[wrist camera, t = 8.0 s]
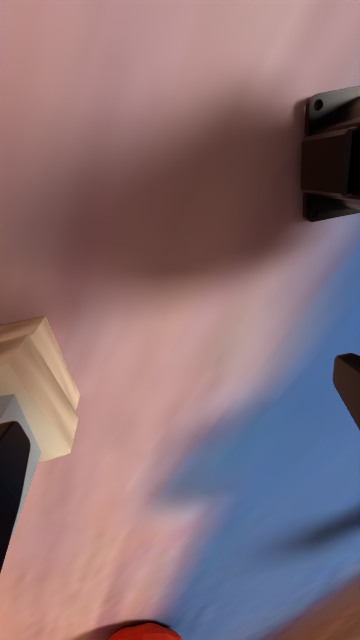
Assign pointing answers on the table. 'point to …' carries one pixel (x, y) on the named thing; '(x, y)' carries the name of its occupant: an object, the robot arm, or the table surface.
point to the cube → (10, 410)
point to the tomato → (145, 633)
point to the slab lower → (44, 351)
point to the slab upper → (38, 396)
